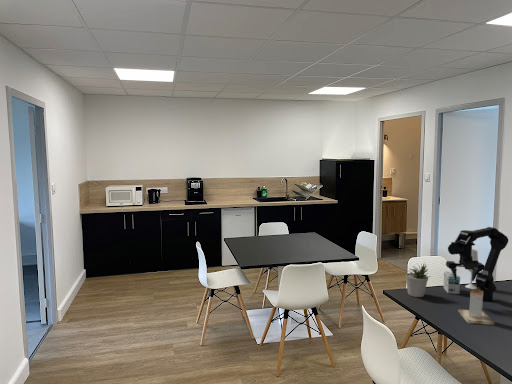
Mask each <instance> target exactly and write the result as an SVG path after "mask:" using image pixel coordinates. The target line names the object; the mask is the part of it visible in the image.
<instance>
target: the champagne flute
mask: <svg viewBox="0 0 512 384" xmlns="http://www.w3.org/2000/svg"><path fill="white" fill-rule="evenodd" d="M478 253H479V252H478V250H477V249H473V248H472V255H471V256H472V260H473V261H478V262H479V256H478ZM468 272H469V273H470V279H469V280H470V283H468V284H467V285H465V288H466V289H471V290H472V289H476V290H478V289H477V288H478V287H477V286H475V285H474V284H473V281H472V270H471V269H468Z"/></svg>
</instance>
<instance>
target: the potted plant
mask: <svg viewBox="0 0 512 384" xmlns="http://www.w3.org/2000/svg"><path fill="white" fill-rule="evenodd" d="M417 266H418V268H417V267H416V266H415V265H412V266H411V267H412V268H408V272H409V273H408V272H407V273H406V274H405V280H406V289H407V290H406V291H407V294H408V295H409V296H410V297H414V298H423V297H424V296H425V293H426V289H427V285H428V280H429V278H430V277H431V275H430V276H428V273H429V272H428V270H429V268H427V267H428V265H427V264H426V263H425V261H424V263H422V264H421V265H420V266H421V267H420V266H419V264H417Z"/></svg>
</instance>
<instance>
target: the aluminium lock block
mask: <svg viewBox="0 0 512 384" xmlns="http://www.w3.org/2000/svg"><path fill="white" fill-rule="evenodd" d="M469 294H470V295H469V309H468V310H469V316H470V317H475V318H479V319H480V318H481V316H482V311H483V302H484V301H483V291H481V290H479V289H471V290H470V292H469Z"/></svg>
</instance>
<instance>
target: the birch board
mask: <svg viewBox="0 0 512 384" xmlns="http://www.w3.org/2000/svg"><path fill="white" fill-rule="evenodd" d="M458 312H459V313H460V314H459V313H458ZM457 313H458V314H459V315H460V316H461V317H462V319H464V320H465V322H466V323H467V324H474V323H475V324H474V325H476V324H477V325H492V326H494V325H495V321H494V320H493V319H492V318H490V317H489V316H488V315H487V313H486V312H484V310H482V316H481V318H480V319H479V318H475V317H470V316H469V309H458V310H457Z"/></svg>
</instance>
